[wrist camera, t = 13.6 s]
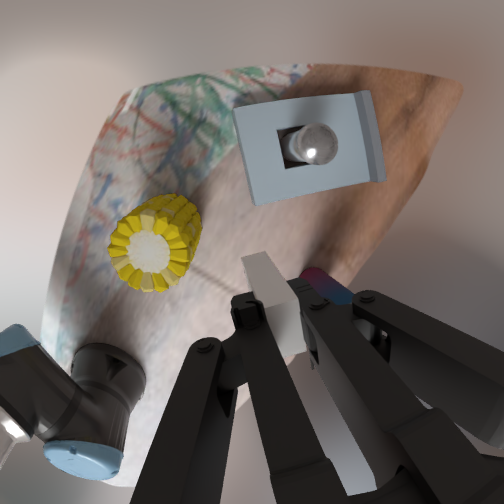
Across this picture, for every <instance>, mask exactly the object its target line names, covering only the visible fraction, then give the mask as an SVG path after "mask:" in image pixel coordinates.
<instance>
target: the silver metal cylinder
mask: <svg viewBox="0 0 504 504" xmlns="http://www.w3.org/2000/svg"><path fill="white" fill-rule="evenodd" d="M280 148H281V153H282V156H283V157H284V158H285V159H287V160H289V161H293V162H307V163H309V164H312V165H325V164H327V163H329V162H331V161H332V160H333V159H334V157H335V156H336V154H337V151H338V139H337V136H336V134H335V133H334V131H333V130H332V129H331V128H330V127H329V126H327V125H325V124H323V123H311V124H308V125H306V126H304V127H303V128H302V129H301V130H299V131H296V132H292V133H289V134H287V135H285V136H284V137H283V138H282V139H281V141H280Z"/></svg>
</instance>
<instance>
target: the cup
mask: <svg viewBox="0 0 504 504" xmlns="http://www.w3.org/2000/svg"><path fill="white" fill-rule="evenodd" d="M300 278H303V279H305V280H307V281H308V282H309V283H310V285H311V286H312V287H313V288H314V289H315V290H316V292H317V293H318V294H319V295H320V296H321V297H325V298H329V299H331V300H332V301H333V302H334V303H335V304H336V305H343V304H350V303H352V297H353V295H355V294H353V293H352V292H351V291H350V290H348V289H347V288H346V287H344V286H343V285H341V284H340V283H339V282H337V281H336V280H335V279H333V278H332V277H330V276H329V275H328V274H326V273H325V272H324V271H322V270H321V269H319V268H315V267H313V268H308V269H306V270H305V271H304V272H303V273H302V274H301V275H300Z"/></svg>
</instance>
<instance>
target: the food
mask: <svg viewBox="0 0 504 504" xmlns="http://www.w3.org/2000/svg"><path fill="white" fill-rule="evenodd" d="M196 210H197V208H196V206H195V205H194V204H192V203H191V202H188V199H186V198H185V197H184V196H182V195H180V196H178V197H177V195H176V194H175V193H173V194H166V195H162V194H161V195H159V196H157V197H153V198H152V199H149V200H148V201H146V202H144V203H143V204H142V205H141V206H138V207H136V208H135V209H133V210H132V211H131V213H129V214H128V215H127V216H125V217H123V218H122V220H119V221H118V222H117V228H116V229H115V230H114V232H113V233H112V234H111V236H110V238H111V244H110V245H109V246H108V247H107V249H108V252H109V255H110V257H113V258H112V259H111V263H112V265H113V267H114V268H115V269H116V270H117V273H118V275H119V278H120V279H122V280H124V281H128V285H129V286H131V287H133V288H134V289H136V290H138V289H140V288H141V289H142V291H143V292H153V291H154V289H155V290H156V291H158V292H160V293H161V292H163V291H165V290H167V289H169V285H170V286H173V285H177V284H178V282H179V279H180V277H182V276H184V275H185V273H186V271H187V270H188V269H189V265H190V262H191V261H192V260H193V257H194V255H195V254H194V253H195V251H196V248H197V246H198V243H199V240H200V235H201V231H202V227H201V223H200V222H201V218H200V214H199V213H198V212H196Z"/></svg>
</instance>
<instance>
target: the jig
mask: <svg viewBox="0 0 504 504" xmlns="http://www.w3.org/2000/svg"><path fill="white" fill-rule="evenodd" d="M232 116H233V120H234V125H235V129H236V133H237V138H238V142H239V146H240V151H241V155H242V160H243V164H244V168H245V173H246V177H247V182H248V186H249V190H250V195H251V199H252V203H253V204H254V205H255V206H258V205H263V204H267V203H271V202H275V201H279V200H284V199H288V198H293V197H297V196H301V195H306V194H310V193H315V192H320V191H324V190H329V189H334V188H338V187H343V186H348V185H353V184H358V183H363V182H368V181H373V182H383V181H387V179H386V172H385V165H384V158H383V152H382V146H381V140H380V135H379V130H378V125H377V120H376V115H375V110H374V106H373V101H372V97H371V93H370V90H361V91H358V92H356V93H352V94H335V95H322V96H312V97H302V98H294V99H286V100H278V101H272V102H265V103H259V104H253V105H247V106H242V107H237V108H233V110H232ZM311 123H323V124H325V125H327V126H329V127H330V128H331V129H332V130H333V131H334V133H335V134H336V136H337V139H338V151H337V154H336V156H335V157H334V159H333V160H332V161H331V162H329V163H327V164H325V165H312V164H303V165H298V166H293V167H288V168H285V167H284V162H283V157H282V153H281V148H280V144H279V139H278V134H277V131H278V130H284V129H290V128H297V127H303V126H306V125H308V124H311Z"/></svg>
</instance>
